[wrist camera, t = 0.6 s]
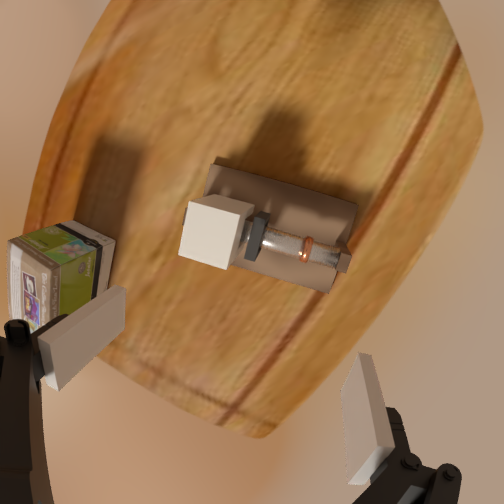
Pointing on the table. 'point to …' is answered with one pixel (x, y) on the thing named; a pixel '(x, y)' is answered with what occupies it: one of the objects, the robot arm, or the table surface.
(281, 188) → the board
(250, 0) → the table surface
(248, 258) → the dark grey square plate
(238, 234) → the sleeve
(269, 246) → the pipe
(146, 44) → the table surface
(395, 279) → the table surface
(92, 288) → the tea box
